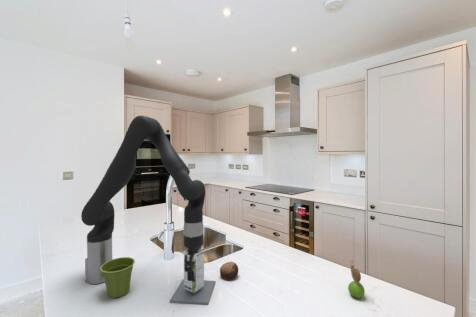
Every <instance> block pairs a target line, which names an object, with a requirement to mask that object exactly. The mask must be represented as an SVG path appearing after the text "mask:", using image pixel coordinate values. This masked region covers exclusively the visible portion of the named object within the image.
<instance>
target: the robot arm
mask: <svg viewBox="0 0 476 317" xmlns="http://www.w3.org/2000/svg"><path fill="white" fill-rule="evenodd" d="M124 135H125V136H124V138H123V140H122V142H121V144H120V146H119V148H118V150H117V152H116V153H115V156H114V158H113V160H112V161H111V162H110V164H109V166H108V168H107V169H106V171H105V173H104V176H103V177H102V178H101V181H100V182H99V184H98V186H97V188H96V189H95V191H94V193H93V194H91V195H92V196H91V197H90V198H89V199H88V200H87V202H86V204H85V205H84V206H83V208H82V210H81V216H80V217H81V221H82V223H83V224H84V225H85V226H89V227H91V226H93V228H92V229H91V230H90V231H89V232H88V233H87V235H86V252H87V253H86V256H87V257H86V258H85V259H84V264H85V265H84V268H85V269H84V273H85V274H84V275H85V278H84V279H85V282H87V283H88V284H90V285H97V284H98V285H99V284H103V283H105V279H104V276H103V273H102V271H101V270H100V267H101V266H102V265H103V264H104V263H106V262H108V261H110V260H113V232H114V230H115V207H114V204H113V203H112V202H111V200H112V199H113V198H114V197H115V196H116V195H117V194H118V193H119V192H120V191H122V189H124V188H125V187H126V185H127V184H128V183H129V181H130V180H131V179H132V176H133V174H134V172H135V171H136V166H137V154H138V151H139V149H140V147H141V146H142V144H143V142H144V141H149V142H150V143H151V144H153V146H154V147H155V148H156V149H157V151H158V152H159V156H160V159H161V162H162V165H163V166H164V168H165V170H166V171H167V173H168V174H169V175H170V177H171V178H172V179H173V181H174V184H175V186H176V188H177V190H178V193H179V194H180V196H181V197H182V198H183V199H184V200H186V201H188V202H187V205H186V206H185V207H184V210H183V246H184V247H185V248H187V249H189V250H188V251H187V255H185V272H187V280H188V281H193V280H194V264H196V259H195V261H193V262H192V259H193V256H194V254H195V252H196V253H197V252H198V251H196V250H200V249H201V250H202V246H203V245H204V221H203V220H204V218H203V216H204V213H203V212H204V210H203V209H204V203H205V199H206V198H205V197H206V186H205V184H204V183H203V182H202V181H201V180H199V179H195V180H192V178H191V176H190V173H191V171H190V169H189V167H188V166H187V164H186V163H185V162H184V160H183V159H182V158H181V157H180V155H179V154H178V153H177V151H176V150H175V148H174V147H173V145H172V143H171V141H170V140H169V138H168V136H167V135H166V132H165V130H164V129H163V127H162V125H161V124H160V122H159V121H158V120H157V119H155V118H154V117H149V116H146V115H137V116H135V117H134V118H133V119H132V120H131V122H130V124H129V126H128V127H127V131H126V132H125V134H124ZM189 266H190V267H189Z"/></svg>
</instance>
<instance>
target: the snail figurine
mask: <svg viewBox="0 0 476 317" xmlns="http://www.w3.org/2000/svg"><path fill="white" fill-rule="evenodd" d="M349 262H350V265H349V266H350V273H351V278H352V280H353V281H351V282H349V284H348V286H347V287H348V288H347V289H348V292H349V294H350V295H351V296H353V298H356V299H360V298H362V297H364V296H365V286H363V284H362V283H361V282H360V281H361V279H362V277H361V276H362V275H361V273H360V271H359V269H357V268H355V265H354V260H349Z"/></svg>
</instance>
